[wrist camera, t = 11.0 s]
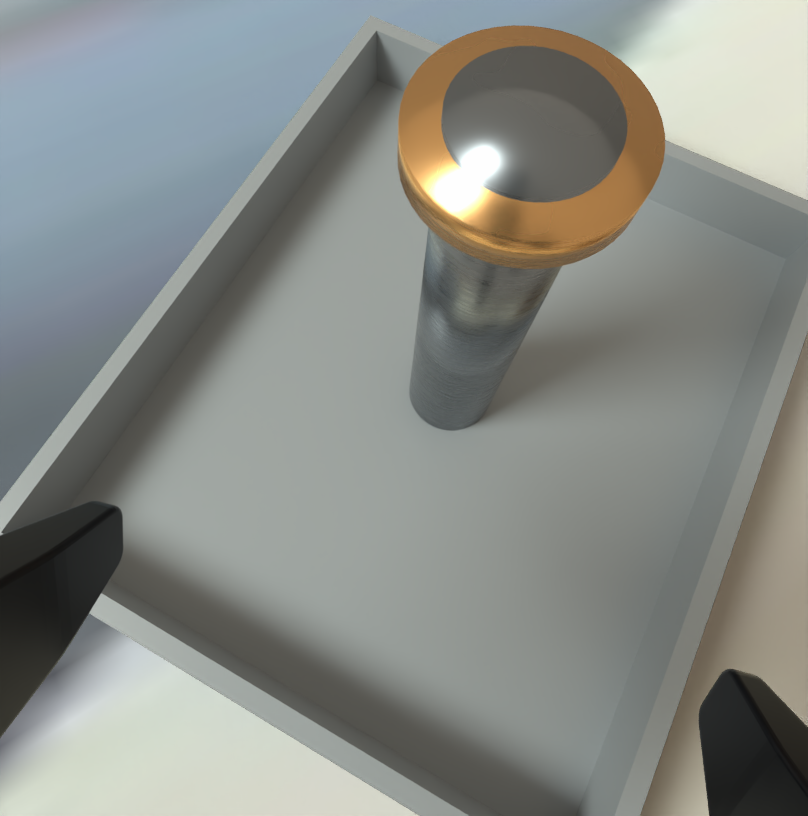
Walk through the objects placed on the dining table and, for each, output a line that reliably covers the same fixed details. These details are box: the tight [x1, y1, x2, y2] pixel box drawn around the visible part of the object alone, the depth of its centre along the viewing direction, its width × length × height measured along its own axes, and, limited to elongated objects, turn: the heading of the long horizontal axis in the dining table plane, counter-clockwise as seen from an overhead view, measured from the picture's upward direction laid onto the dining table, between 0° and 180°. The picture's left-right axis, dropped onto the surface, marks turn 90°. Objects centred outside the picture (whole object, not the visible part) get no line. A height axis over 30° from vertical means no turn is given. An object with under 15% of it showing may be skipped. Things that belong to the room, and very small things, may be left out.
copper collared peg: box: [397, 26, 665, 431], centre depth 16 cm, size 4×4×13 cm
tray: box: [0, 16, 808, 816], centre depth 21 cm, size 24×20×3 cm
